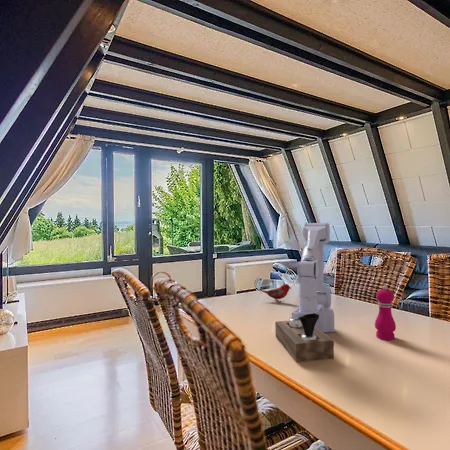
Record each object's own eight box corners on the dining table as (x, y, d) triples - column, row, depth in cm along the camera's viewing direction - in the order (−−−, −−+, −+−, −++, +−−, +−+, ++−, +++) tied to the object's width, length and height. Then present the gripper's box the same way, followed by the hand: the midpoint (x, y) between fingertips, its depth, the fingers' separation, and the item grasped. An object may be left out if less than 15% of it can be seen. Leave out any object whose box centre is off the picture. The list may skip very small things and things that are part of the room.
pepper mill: (370, 335, 127) (370, 284, 126) (384, 332, 130) (384, 282, 129) (385, 342, 120) (385, 288, 120) (400, 339, 123) (400, 286, 122)
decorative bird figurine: (291, 303, 174) (290, 284, 173) (258, 301, 179) (257, 283, 179) (291, 302, 176) (291, 283, 176) (259, 300, 182) (258, 282, 181)
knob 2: (312, 349, 115) (312, 332, 115) (318, 355, 110) (318, 337, 110) (299, 350, 114) (298, 333, 114) (304, 356, 109) (304, 338, 109)
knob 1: (299, 331, 127) (299, 316, 127) (305, 336, 122) (304, 320, 122) (287, 332, 126) (287, 317, 126) (292, 337, 121) (291, 321, 121)
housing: (307, 334, 130) (307, 319, 130) (333, 358, 108) (333, 340, 108) (275, 336, 128) (275, 321, 128) (296, 362, 106) (295, 343, 106)
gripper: (312, 290, 119) (312, 327, 119) (284, 297, 110) (285, 337, 111) (328, 294, 113) (329, 332, 114) (301, 301, 105) (301, 343, 105)
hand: (308, 335), depth 112 cm, fingers closed, pressing on knob 2
